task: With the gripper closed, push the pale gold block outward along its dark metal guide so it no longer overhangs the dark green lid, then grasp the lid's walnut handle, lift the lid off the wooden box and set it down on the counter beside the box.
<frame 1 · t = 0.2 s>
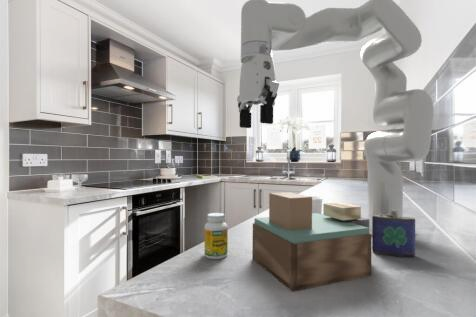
hand: (255, 125, 65), 31 cm above the countertop, fingers open, 9 cm apart
flask: (393, 255, 64), on the countertop
wooden box: (307, 266, 56), on the countertop
pale gold block: (341, 210, 60), point 11 cm above the countertop, slide at 0.0 cm
supplement bottle: (215, 256, 63), on the countertop
lid: (307, 228, 56), point 8 cm above the countertop, touching wooden box
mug: (306, 230, 86), on the countertop
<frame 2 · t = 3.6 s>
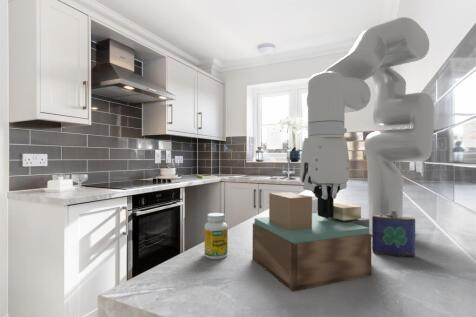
hand: (325, 216, 58), 10 cm above the countertop, fingers closed
pale gold block: (341, 210, 60), point 11 cm above the countertop, slide at 0.1 cm, touching gripper
everything else where it was.
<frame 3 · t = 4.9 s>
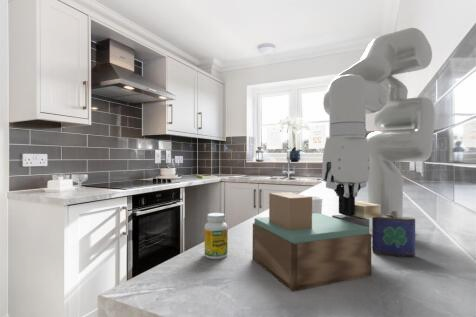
hand: (346, 214, 60), 10 cm above the countertop, fingers closed
pale gold block: (361, 209, 62), point 11 cm above the countertop, slide at 5.9 cm, touching gripper
everything else where it was.
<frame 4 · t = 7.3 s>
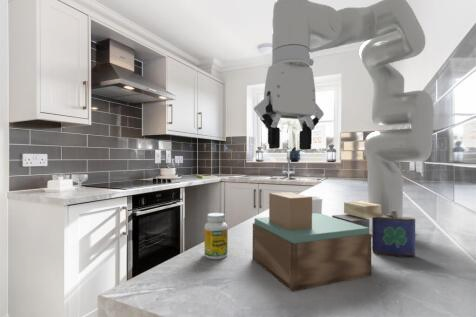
hand: (290, 148, 55), 25 cm above the countertop, fingers open, 6 cm apart
pale gold block: (362, 209, 62), point 11 cm above the countertop, slide at 6.0 cm
everything else where it was.
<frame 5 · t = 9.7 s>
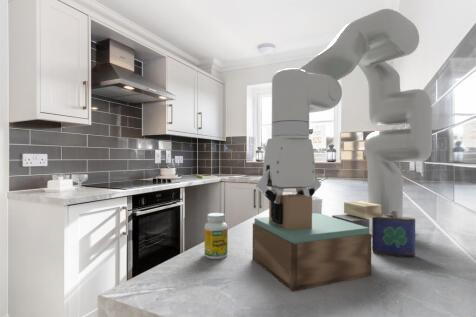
hand: (289, 220, 55), 10 cm above the countertop, fingers closed on lid, 5 cm apart
lid: (307, 228, 56), point 8 cm above the countertop, touching gripper, wooden box
everything else where it was.
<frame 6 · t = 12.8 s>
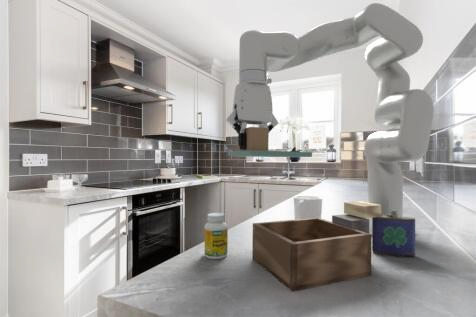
hand: (252, 148, 71), 25 cm above the countertop, fingers closed on lid, 5 cm apart
lid: (267, 156, 73), point 23 cm above the countertop, touching gripper
everything else where it was.
when the fingers open (3 cm above the countertop, at t = 16.1 s): lid drops 2 cm, on the countertop.
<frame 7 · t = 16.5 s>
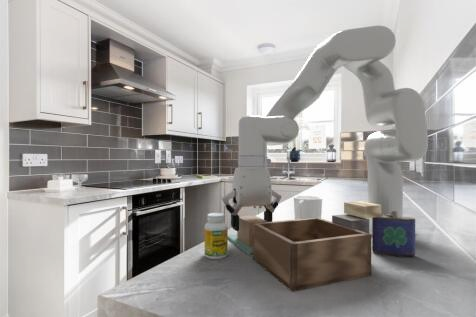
hand: (252, 227, 71), 4 cm above the countertop, fingers open, 9 cm apart
lid: (266, 244, 73), on the countertop
everything else where it was.
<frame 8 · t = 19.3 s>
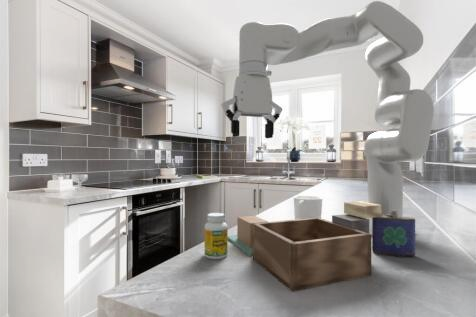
hand: (252, 137, 72), 28 cm above the countertop, fingers open, 9 cm apart
nothing on the countertop moved.
at the end: pale gold block slide at 6.0 cm; lid inside the target area (0.4 cm from its centre), on the countertop; the gripper is holding nothing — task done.
